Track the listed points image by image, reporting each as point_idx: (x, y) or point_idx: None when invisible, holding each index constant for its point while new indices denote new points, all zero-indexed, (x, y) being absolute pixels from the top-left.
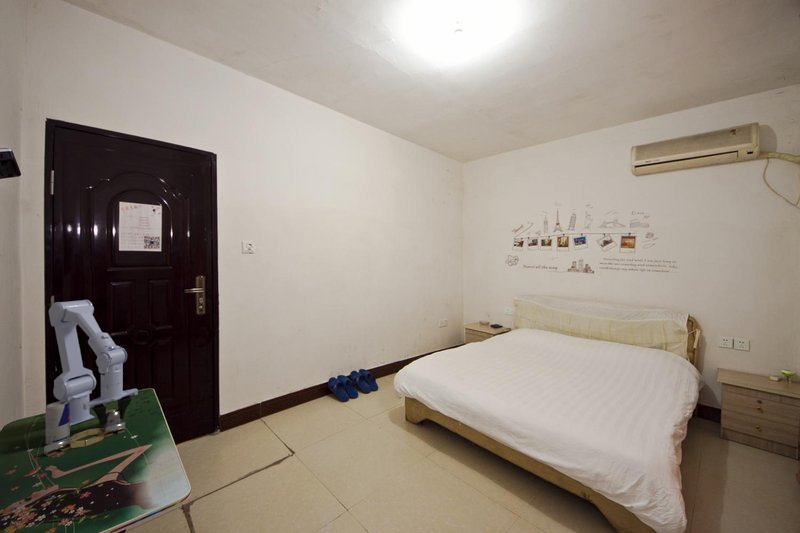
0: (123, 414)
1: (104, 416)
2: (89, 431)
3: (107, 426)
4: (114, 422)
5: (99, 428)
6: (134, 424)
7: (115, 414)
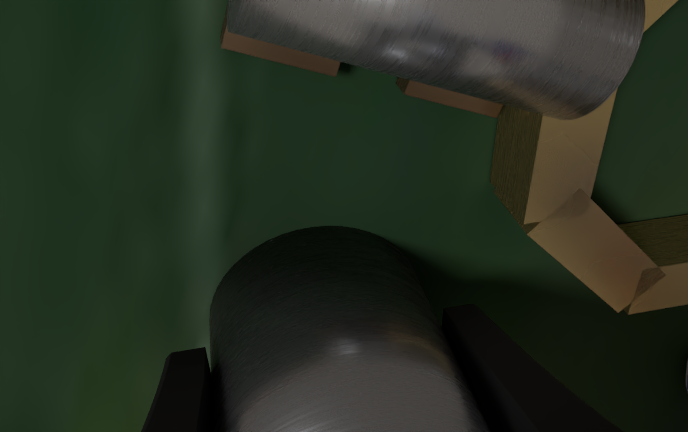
0: (169, 413)
1: (555, 427)
2: (647, 252)
3: (591, 66)
4: (335, 283)
5: (553, 237)
6: (22, 49)
7: (355, 415)
